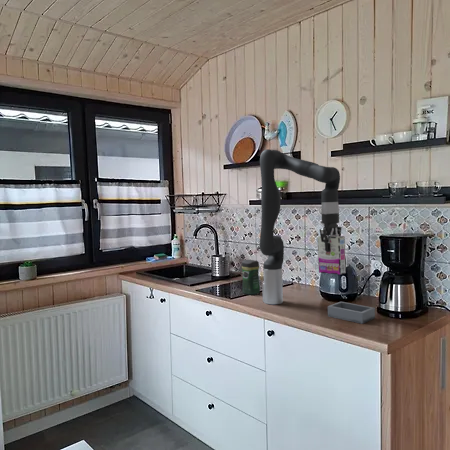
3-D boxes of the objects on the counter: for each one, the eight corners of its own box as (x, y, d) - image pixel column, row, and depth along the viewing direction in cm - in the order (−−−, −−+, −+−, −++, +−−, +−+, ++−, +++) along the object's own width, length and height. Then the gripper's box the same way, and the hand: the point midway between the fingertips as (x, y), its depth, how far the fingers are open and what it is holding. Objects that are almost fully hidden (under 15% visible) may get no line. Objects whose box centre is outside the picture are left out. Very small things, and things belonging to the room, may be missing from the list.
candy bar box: (346, 273, 183) (345, 236, 182) (340, 275, 179) (339, 237, 178) (324, 271, 191) (323, 235, 190) (318, 272, 187) (316, 236, 186)
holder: (327, 316, 182) (327, 306, 182) (340, 311, 189) (340, 301, 189) (362, 323, 170) (362, 313, 170) (374, 318, 177) (374, 307, 177)
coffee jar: (262, 293, 228) (261, 259, 226) (251, 296, 223) (250, 261, 222) (250, 290, 235) (249, 258, 234) (239, 293, 230) (239, 259, 229)
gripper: (331, 211, 191) (333, 248, 192) (313, 213, 181) (314, 252, 182) (346, 211, 186) (347, 249, 186) (328, 213, 176) (329, 253, 177)
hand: (331, 250), depth 184 cm, fingers closed on candy bar box, 5 cm apart
